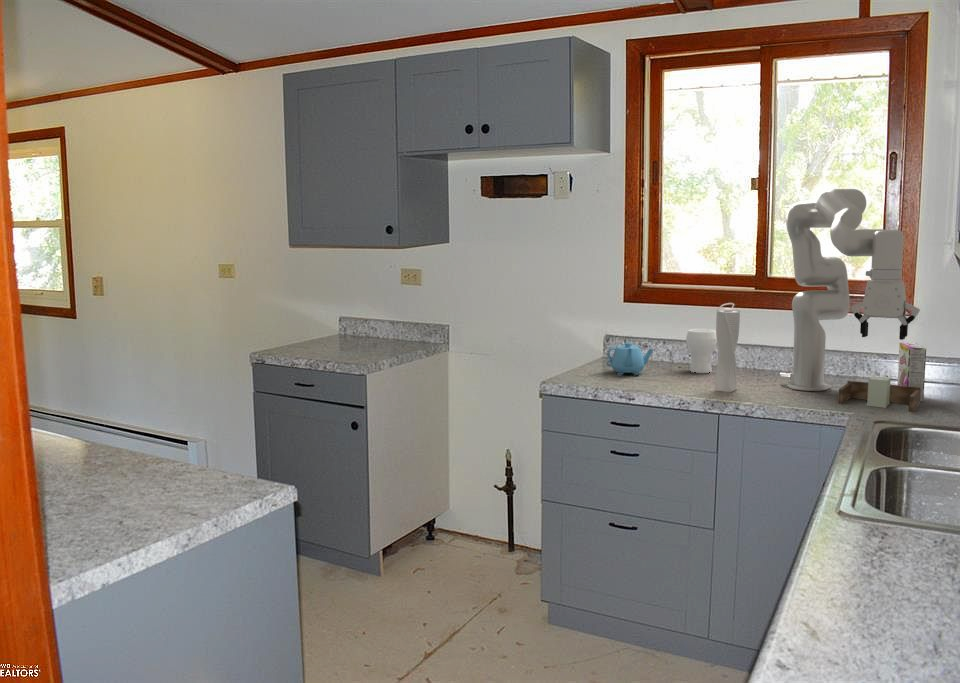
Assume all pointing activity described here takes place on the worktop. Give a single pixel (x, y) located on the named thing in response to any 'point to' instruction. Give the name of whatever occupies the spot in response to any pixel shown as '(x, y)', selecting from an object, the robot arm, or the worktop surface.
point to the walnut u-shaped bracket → (896, 395)
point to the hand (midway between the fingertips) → (883, 337)
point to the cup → (701, 349)
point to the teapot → (628, 359)
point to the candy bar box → (912, 366)
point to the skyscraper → (727, 348)
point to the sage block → (878, 391)
